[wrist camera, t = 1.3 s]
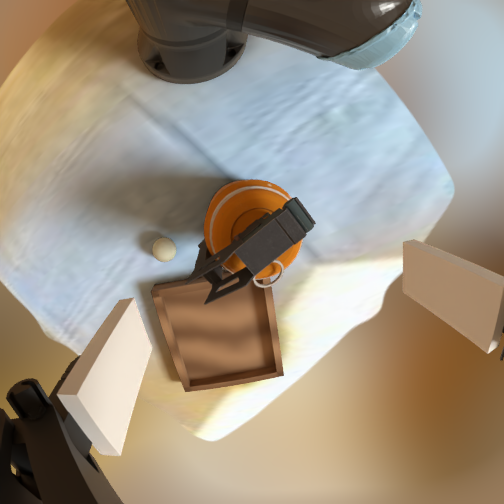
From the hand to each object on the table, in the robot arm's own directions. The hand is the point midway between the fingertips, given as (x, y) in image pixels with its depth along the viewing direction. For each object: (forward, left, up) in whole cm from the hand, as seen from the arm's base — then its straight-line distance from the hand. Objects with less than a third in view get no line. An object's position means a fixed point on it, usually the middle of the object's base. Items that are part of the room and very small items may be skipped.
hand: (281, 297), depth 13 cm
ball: (+2, -10, -27) cm, 28 cm away
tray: (+16, -5, -27) cm, 31 cm away
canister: (0, 0, -27) cm, 27 cm away
